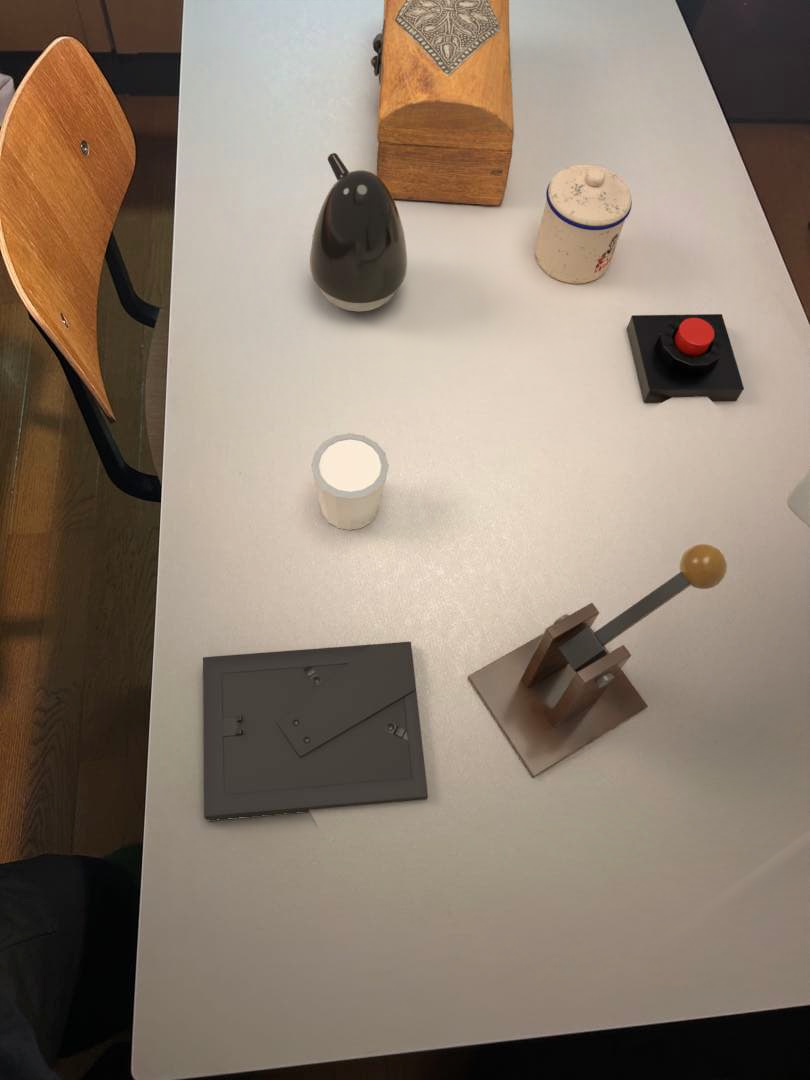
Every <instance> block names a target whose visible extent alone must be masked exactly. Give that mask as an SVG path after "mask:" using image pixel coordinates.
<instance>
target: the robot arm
mask: <svg viewBox="0 0 810 1080" xmlns="http://www.w3.org/2000/svg"><path fill="white" fill-rule="evenodd" d="M785 503H786V505H787V507H788V508H789V510H790V511H791V512H792V513H793V514H794V515H795V516H796V517H797V519H799V520H800V522H802V523H803V524H804V525H805V526H807V527H808V528H809V529H810V466H809V467H808V468H807V469H806V470H805V471H804V472H803V474H802V475H801V476H800V478H798V480H797V481H796V482H795V484H793V486H792V487H791V488H790V490H789V491H788V492H787V494H786V496H785Z"/></svg>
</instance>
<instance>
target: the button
mask: <svg viewBox="0 0 810 1080" xmlns="http://www.w3.org/2000/svg"><path fill="white" fill-rule="evenodd" d="M713 338H714V330H713V328H712V326H711V325H710V324H709V323H708V322H706V321H704V320H702V319H699V318H688V319H686V320H684V321H683V322H682V323H681V324H680V326H679V328H678V331H677V333H676V335H675V338H674V341H675V344H676V346H677V348H678V349H679V350H680V351H681V352H683V353H686V354H688V355H691V356H698V355H702V354H704V353H705V352H706V351H707V350H708V348H709V346H710V344H711V342H712V340H713Z"/></svg>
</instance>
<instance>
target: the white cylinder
mask: <svg viewBox="0 0 810 1080" xmlns="http://www.w3.org/2000/svg"><path fill="white" fill-rule="evenodd" d="M311 471H312V475H313V479H314V484H315V488H316V493H317V497H318V502H319V506H320V510H321V511H320V512H321V514H322V516H323V517H324V519H325V520H326V521H327V522H328V523H329V524H330V525H333V526H334V527H335V528H337V529H341V530H347V531H352V530H353V531H354V530H357V529H362V528H364V527H366V526H368V525H369V524H371V523H372V521H373V520H374V519H375V518H376V516H377V515H378V512H379V508H380V504H381V500H382V496H383V492H384V487H385V483H386V479H387V476H388V471H389V462H388V457H387V454H386V452H385V451H384V450H383V448H382V447H381V446H380V445H379V444H378V442H377V441H374V440H372V439H371V438H369V437H367V436H365V435H361V434H355V433H343V434H338V435H334V436H332V437H331V438H329V439H327V440H325V441H323V442H322V443H321V444H320V445H319V447H318V448H317V449H316V450H315V452H314V454H313V458H312V461H311Z"/></svg>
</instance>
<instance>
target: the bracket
mask: <svg viewBox="0 0 810 1080" xmlns="http://www.w3.org/2000/svg"><path fill="white" fill-rule="evenodd" d="M599 614H600V611H599V610H598V608H597V607H596V606H595V604H594V603H593V602H590V603H589V604H587V605H585V606H584V607H582V608H580V609H578V610H576V611H574V612H573V613H571V614H569V613H566V614H563V615H562V616H560V617H558V618H557V619H555V621H554V622H553V624H551V625H549V626H547V627H546V628H545V630H544V632H543V633H541V634H539V635H538V636H536V637H535V638H533V639H531V640H529V641H527V642H526V643H523V644H522V645H520V646H519V647H517V648H515V649H514V650H512V651H509V652H508V653H506V654H505V655H503V656H501V657H499V658H497V659H496V660H494V661H492V662H490V663H489V664H487V665H485V666H482V667H481V668H480V669H478V670H476V671H474V672H473V673H471V674H469V675H468V676H467V680H468V681H469V683H470V685H471V686H472V687H473V689H474V691H475V692H476V694H477V695H478V697H479V698H480V700H481V701H482V703H483V704H484V706H485V708H486V709H487V710H488V712H489V713H490V715H491V717H492V718H493V720H494V721H495V722H496V724H497V726H498V727H499V729H500V730H501V732H502V733H503V735H504V737H505V738H506V739H507V741H508V743H509V744H510V746H511V747H512V749H513V750H514V752H515V754H516V755H517V757H518V758H519V759H520V761H521V763H522V764H523V766H524V767H525V769H526V770H527V772H528V773H529V775H530V776H531V778H533V779H534V778H536V777H537V776H539V775H540V774H542V773H544V772H545V771H547V770H549V769H551V768H552V767H553V766H555V765H557V764H559V763H560V762H562V761H563V760H565V759H566V758H569V757H570V756H571V755H573V754H574V753H576V752H578V751H580V750H581V749H582V748H584V747H586V746H587V745H589V744H591V743H593V742H594V741H596V740H598V739H599V738H600V737H602V736H604V735H605V734H607V733H609V732H610V731H612V730H613V729H615V728H617V727H618V726H620V725H622V724H623V723H624V722H626V721H628V720H629V719H631V718H632V717H634V716H636V715H638V714H639V713H641V712H642V711H644V710H646V709H647V708H648V704H647V703H646V701H645V700H644V698H643V697H642V696H641V695H640V693H639V692H638V691H637V689H636V688H635V686H634V685H633V683H632V682H631V681H630V679H629V678H628V676H626V673H625V672H624V671H623V670H622V668H624V666H626V663H627V662H628V661H629V659H630V658H631V657H632V654H631V653H630V651H629V649H627V647H626V646H625V644H623V645H621V646H619V647H617V648H615V649H614V650H612V651H610V652H609V651H608V649H607V647H606V646H603V647H604V648H605V650H606V651H607V653H608V654H607V655H605V656H604V657H602V658H600V659H598V660H597V661H595V662H593V663H592V664H590V665H588V666H587V667H585V668H583V669H581V670H580V671H578V672H575V671H574V670H573V668H572V667H571V665H570V664H569V663H568V661H567V660H566V658H565V657H564V656H563V654H562V653H561V651H560V650H559V649H558V647H559V646H560V645H562V644H563V643H565V642H566V641H567V640H569V639H570V638H572V637H573V636H575V635H576V634H577V633H579V632H580V631H582V630H583V629H585V628H586V627H589V628H590V629H591V631H592V632H593V633H594V632H595V631H594V630H593V629H592V626H593V624H594V623H595V622H596V620H597V617H598V616H599Z"/></svg>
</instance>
